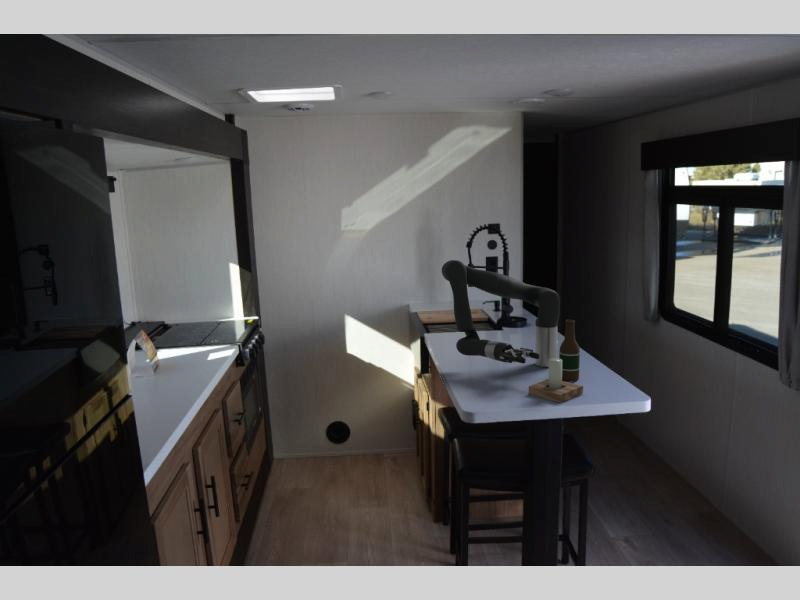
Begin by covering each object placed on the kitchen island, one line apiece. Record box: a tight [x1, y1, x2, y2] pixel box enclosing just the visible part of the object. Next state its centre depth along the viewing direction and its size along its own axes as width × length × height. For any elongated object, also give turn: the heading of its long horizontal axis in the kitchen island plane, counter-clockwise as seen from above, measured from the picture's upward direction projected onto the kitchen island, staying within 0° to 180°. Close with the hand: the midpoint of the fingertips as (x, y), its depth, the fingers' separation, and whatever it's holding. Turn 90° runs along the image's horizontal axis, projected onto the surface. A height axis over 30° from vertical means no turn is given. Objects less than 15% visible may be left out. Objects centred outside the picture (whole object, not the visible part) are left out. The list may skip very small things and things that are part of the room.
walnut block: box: [528, 378, 584, 404], centre depth 226 cm, size 14×14×3 cm
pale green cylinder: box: [548, 357, 562, 390], centre depth 225 cm, size 5×5×13 cm
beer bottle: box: [558, 319, 581, 382], centre depth 242 cm, size 8×8×24 cm
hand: (532, 358), depth 233 cm, fingers open, 8 cm apart
